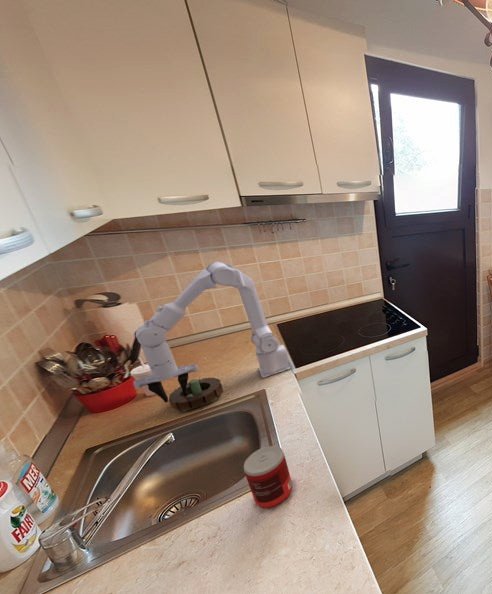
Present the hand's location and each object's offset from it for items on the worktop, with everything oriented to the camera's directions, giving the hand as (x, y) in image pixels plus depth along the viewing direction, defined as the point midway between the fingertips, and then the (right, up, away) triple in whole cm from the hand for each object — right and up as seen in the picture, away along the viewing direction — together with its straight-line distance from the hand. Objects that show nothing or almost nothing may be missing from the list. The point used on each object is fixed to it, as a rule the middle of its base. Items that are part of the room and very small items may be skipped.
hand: (176, 397), depth 105 cm
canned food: (+49, -14, -28) cm, 59 cm away
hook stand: (+4, -2, +4) cm, 6 cm away
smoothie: (-15, -1, +8) cm, 17 cm away
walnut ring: (+4, -1, +4) cm, 5 cm away
